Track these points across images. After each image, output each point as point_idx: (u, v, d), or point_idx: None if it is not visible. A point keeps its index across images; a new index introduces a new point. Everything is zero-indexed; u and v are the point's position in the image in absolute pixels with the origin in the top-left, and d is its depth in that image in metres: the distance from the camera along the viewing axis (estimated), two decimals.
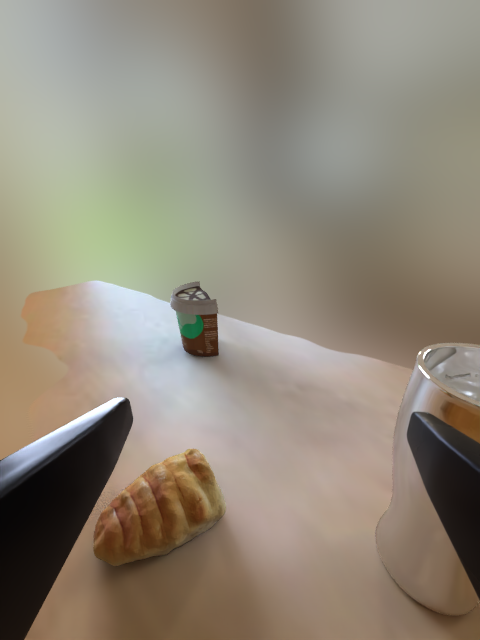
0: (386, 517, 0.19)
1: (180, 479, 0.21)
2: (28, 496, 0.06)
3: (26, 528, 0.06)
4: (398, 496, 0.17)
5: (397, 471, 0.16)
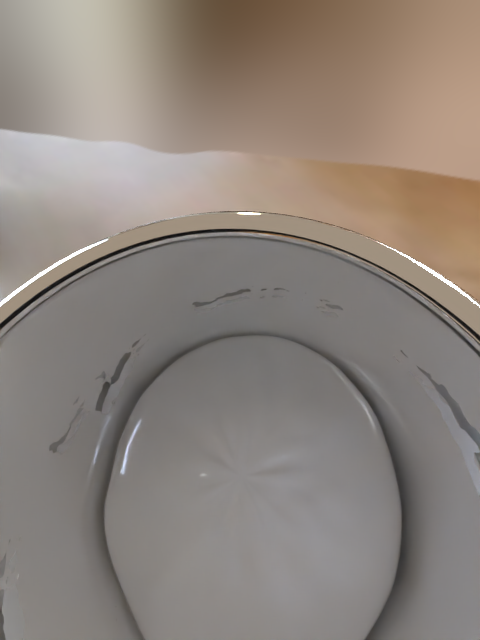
0: None
1: None
2: None
3: None
4: None
5: None
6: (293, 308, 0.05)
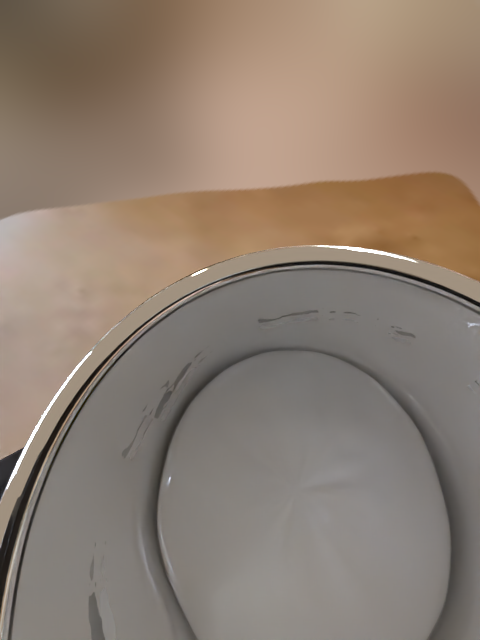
0: None
1: None
2: None
3: None
4: None
5: None
6: (356, 330, 0.06)
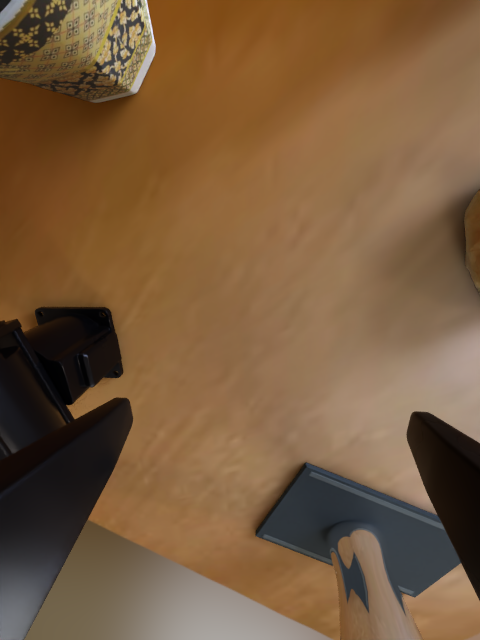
0: (384, 556, 0.26)
1: None
2: (28, 496, 0.06)
3: (26, 528, 0.06)
4: (393, 604, 0.22)
5: (408, 636, 0.20)
6: None
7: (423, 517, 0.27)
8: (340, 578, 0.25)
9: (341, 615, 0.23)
